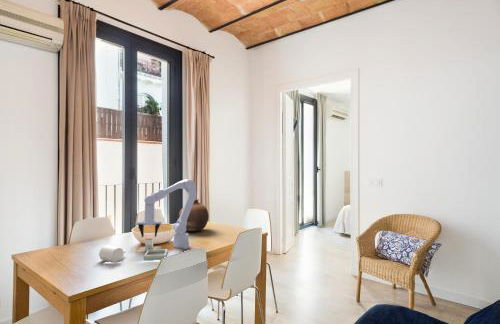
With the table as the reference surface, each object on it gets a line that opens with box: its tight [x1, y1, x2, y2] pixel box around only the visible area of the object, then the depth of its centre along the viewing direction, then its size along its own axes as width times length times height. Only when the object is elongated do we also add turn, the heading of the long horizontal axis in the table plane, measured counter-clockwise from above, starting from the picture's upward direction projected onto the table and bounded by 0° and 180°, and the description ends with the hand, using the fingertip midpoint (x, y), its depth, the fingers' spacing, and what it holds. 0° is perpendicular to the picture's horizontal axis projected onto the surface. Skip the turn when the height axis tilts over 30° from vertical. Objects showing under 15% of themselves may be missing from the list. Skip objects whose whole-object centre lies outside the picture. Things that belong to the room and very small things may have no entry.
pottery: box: [178, 198, 210, 232], centre depth 234 cm, size 23×23×25 cm
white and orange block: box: [144, 236, 154, 250], centre depth 182 cm, size 4×4×7 cm
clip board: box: [135, 245, 163, 253], centre depth 182 cm, size 14×10×4 cm
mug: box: [98, 244, 126, 264], centre depth 164 cm, size 12×10×8 cm
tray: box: [143, 248, 169, 260], centre depth 171 cm, size 12×12×2 cm
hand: (149, 236), depth 182 cm, fingers open, 7 cm apart
